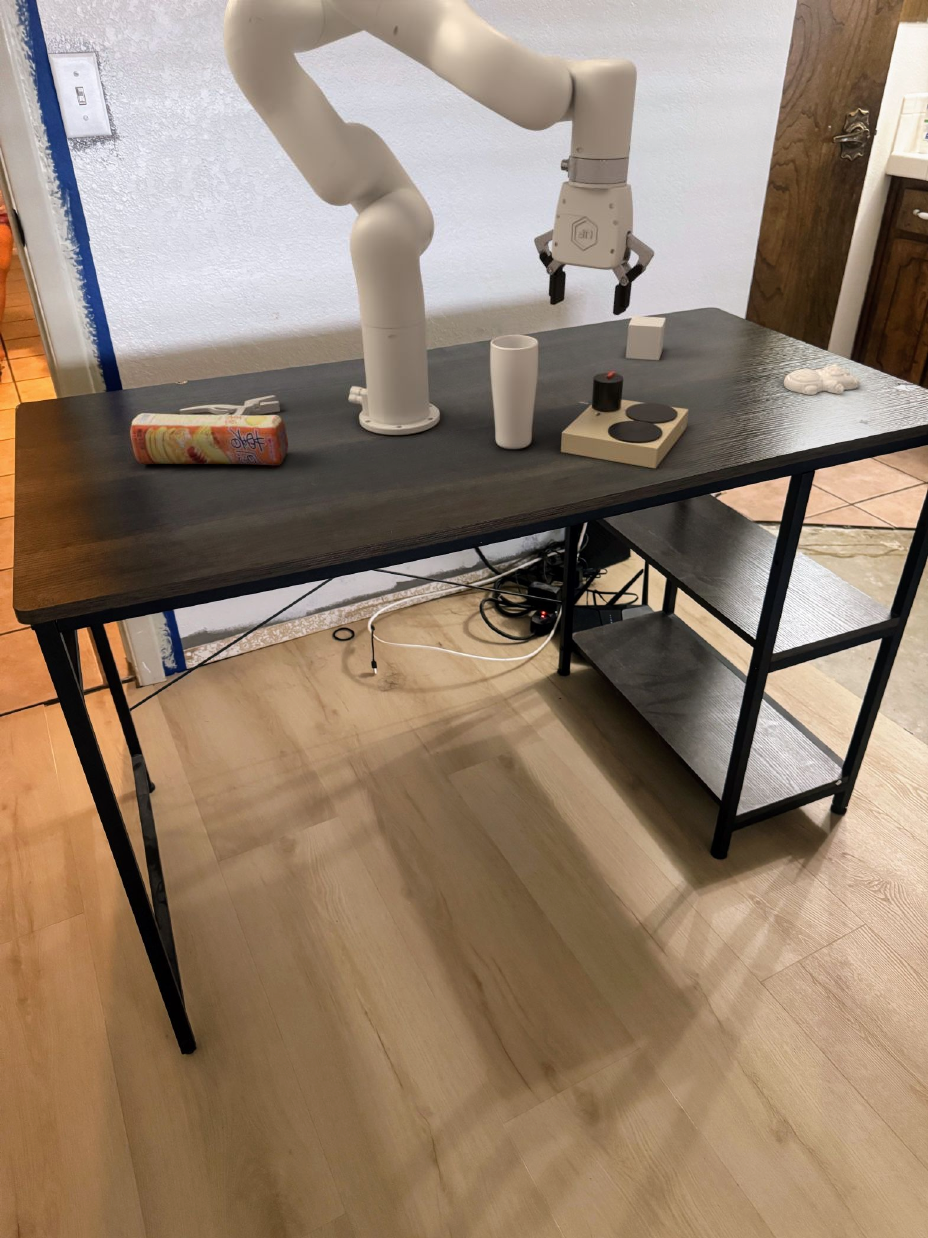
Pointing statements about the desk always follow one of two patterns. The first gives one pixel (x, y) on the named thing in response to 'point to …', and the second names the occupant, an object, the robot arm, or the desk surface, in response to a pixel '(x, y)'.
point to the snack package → (209, 439)
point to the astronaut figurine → (820, 380)
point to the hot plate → (595, 441)
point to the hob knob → (607, 392)
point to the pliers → (239, 407)
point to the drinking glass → (513, 388)
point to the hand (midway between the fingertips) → (587, 307)
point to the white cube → (645, 337)
